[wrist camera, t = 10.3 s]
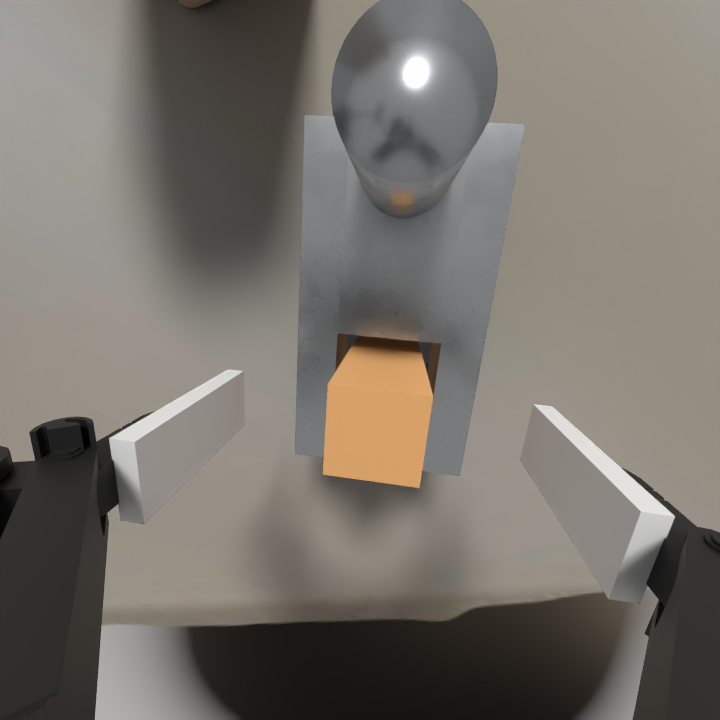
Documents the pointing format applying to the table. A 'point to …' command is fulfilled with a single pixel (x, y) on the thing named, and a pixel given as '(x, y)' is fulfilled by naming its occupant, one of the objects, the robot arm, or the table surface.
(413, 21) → the grey slotted stand
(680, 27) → the table surface
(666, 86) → the table surface
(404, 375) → the orange square bar
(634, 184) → the table surface
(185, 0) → the wooden block
